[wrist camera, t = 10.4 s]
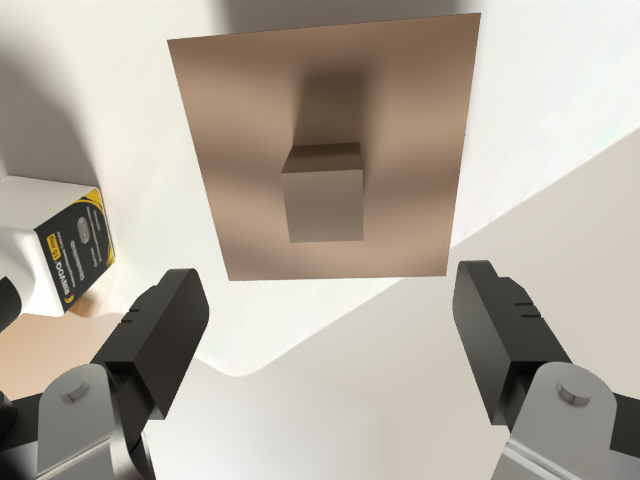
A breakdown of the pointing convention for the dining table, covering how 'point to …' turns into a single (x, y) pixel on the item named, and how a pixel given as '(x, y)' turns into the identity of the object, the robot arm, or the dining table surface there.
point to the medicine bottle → (49, 245)
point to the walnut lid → (331, 144)
